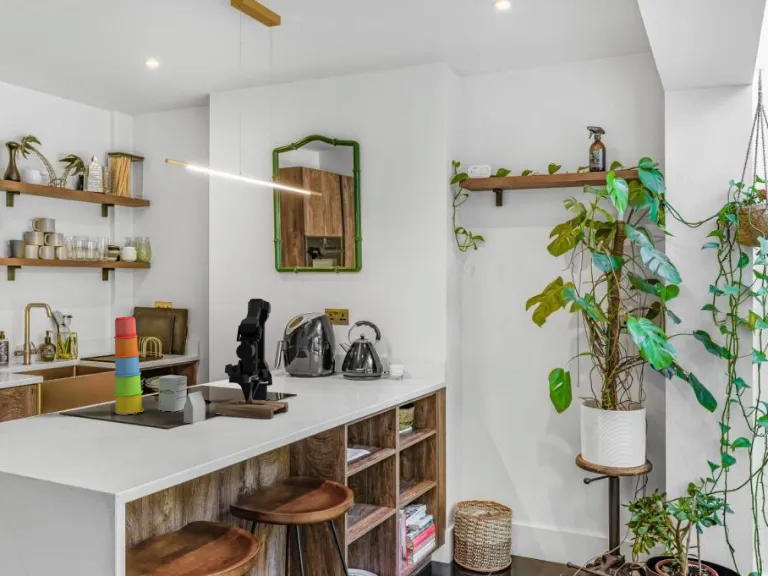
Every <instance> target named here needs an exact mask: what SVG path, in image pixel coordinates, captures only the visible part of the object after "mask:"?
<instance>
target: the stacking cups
mask: <svg viewBox="0 0 768 576" xmlns="http://www.w3.org/2000/svg"><path fill="white" fill-rule="evenodd" d="M136 323H137V322H136V318H135V316H120V317H116V318H115V319H114V332H115V335H114V336H113V338H114V348H115V349H114V351H115V354H114V355H113V357H114V362H115V363H114V366H115V368H114V369H115V370H114V371H115V373H114V374H113V376H114V377H115V378H114V379H115V392H114V393H113V395H114V396H115V411H116V412H118V413H134V412H136V413H137V412H142V413H143V411H145V409H144V408H143V401H142V399H143V396H142V394H143V392H144V390H142V388H141V387H142V386H141V385H142V384H141V374H142V371H140V360H139V356H140V353H139V349H138V348H139V347H138V337H139V335H137V324H136Z"/></svg>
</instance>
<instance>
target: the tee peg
mask: <svg viewBox="0 0 768 576" xmlns="http://www.w3.org/2000/svg"><path fill="white" fill-rule="evenodd" d="M247 404H250V405H252V390H251V394H250V397H249V400H248V401H246V400H245V405H247Z"/></svg>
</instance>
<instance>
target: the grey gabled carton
mask: <svg viewBox="0 0 768 576" xmlns="http://www.w3.org/2000/svg"><path fill="white" fill-rule="evenodd" d="M202 420H205V421H206V401H205V399H204V396H203V393H202V391H200V390H198V391H195V392H190V393H188V394H187V395H186V402H185V404H184V410H183V423H184V422H185V423H190V424H189V425H195V424H194V423H196V424H198V423H197V422H199V423H201V422H200V421H202ZM202 422H203V421H202ZM185 423H184V424H185Z"/></svg>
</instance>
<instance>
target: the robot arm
mask: <svg viewBox="0 0 768 576" xmlns="http://www.w3.org/2000/svg"><path fill="white" fill-rule="evenodd" d="M271 308H272V306H271V303H270V302H269V301H267V300H265V299H263V298H256V297H255V298H254V297H253V298H250V299H249V301H248V302H247V314H246V317H245V318H243V319H241V321H240V324H238V327H237V331H236V333H237V334H236V341H235V342H237V343H238V342H239V343H240V344H239V345H238V346H237V347H236V350H235V353H236V356H237V358H238V359H239V360H238V361H237V364H232V363H228V364H225V367H224V373H225V374H226V375H227V376H228V383H229V384H237V385H238V386H239V387H240V388H241V391H242V394H243V396H244V399H245V400H246V401H248V400H249V397H250V394H251V390H252V399H253V400H266V399H267V398H268V387H271V386H273V374H272V373H271V370H270V368H269V367H270V365H269V364H268V363H267V361H266V323H267V321H268V320H269V318H270V314H271V312H272V309H271Z"/></svg>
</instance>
